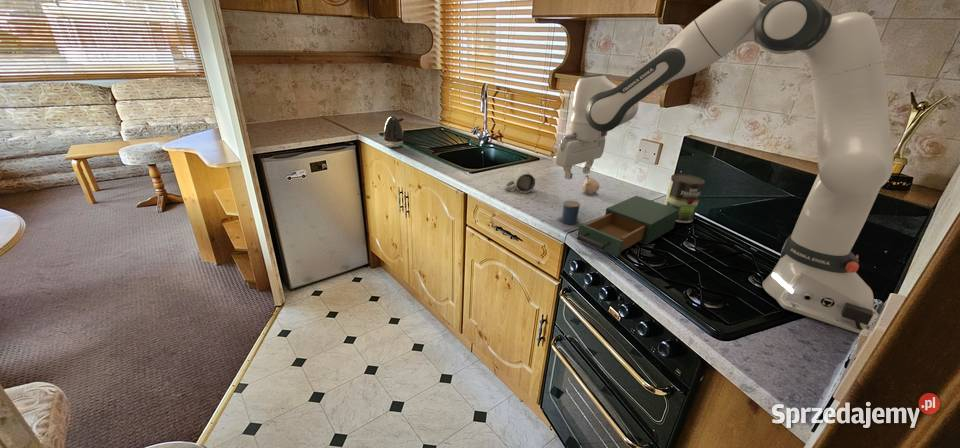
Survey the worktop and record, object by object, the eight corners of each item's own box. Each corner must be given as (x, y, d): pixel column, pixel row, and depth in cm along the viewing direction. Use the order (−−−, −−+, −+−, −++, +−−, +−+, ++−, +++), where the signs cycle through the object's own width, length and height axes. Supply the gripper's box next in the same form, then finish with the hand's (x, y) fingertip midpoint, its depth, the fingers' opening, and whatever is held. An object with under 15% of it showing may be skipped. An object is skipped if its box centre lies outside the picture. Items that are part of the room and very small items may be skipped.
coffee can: (699, 223, 136) (711, 184, 130) (669, 222, 136) (680, 183, 130) (684, 211, 146) (695, 174, 139) (656, 210, 145) (666, 173, 139)
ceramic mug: (528, 185, 163) (530, 167, 159) (534, 192, 155) (536, 173, 152) (503, 186, 161) (504, 168, 158) (508, 193, 154) (509, 174, 150)
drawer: (608, 262, 108) (612, 246, 106) (567, 243, 117) (569, 228, 115) (648, 239, 122) (652, 224, 120) (608, 223, 131) (611, 209, 128)
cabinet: (645, 245, 120) (650, 224, 117) (602, 227, 130) (606, 208, 127) (673, 228, 132) (678, 209, 129) (631, 213, 142) (636, 195, 139)
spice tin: (580, 221, 133) (583, 204, 131) (570, 225, 130) (573, 207, 127) (567, 216, 137) (570, 199, 134) (558, 220, 133) (560, 202, 131)
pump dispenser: (405, 148, 204) (404, 118, 198) (384, 149, 202) (382, 118, 196) (404, 143, 213) (402, 114, 207) (383, 143, 211) (382, 114, 205)
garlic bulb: (579, 190, 161) (582, 170, 157) (595, 190, 161) (599, 171, 158) (583, 196, 155) (586, 176, 151) (599, 196, 155) (603, 177, 152)
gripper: (571, 138, 112) (565, 185, 118) (611, 129, 125) (603, 172, 131) (553, 133, 116) (548, 179, 122) (593, 126, 129) (587, 167, 135)
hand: (577, 175), depth 126 cm, fingers open, 8 cm apart
